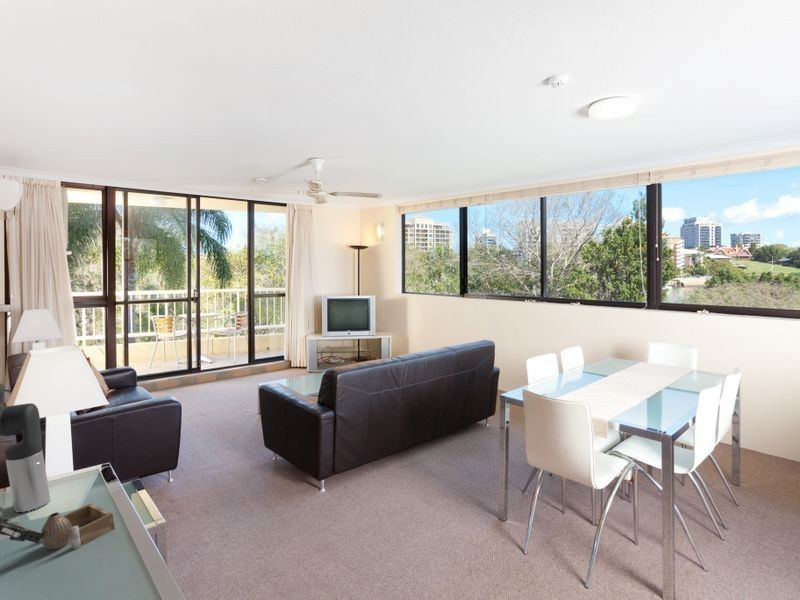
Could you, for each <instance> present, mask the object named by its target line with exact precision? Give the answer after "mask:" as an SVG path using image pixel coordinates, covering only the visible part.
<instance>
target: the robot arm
mask: <svg viewBox="0 0 800 600" xmlns="http://www.w3.org/2000/svg"><path fill="white" fill-rule="evenodd" d="M4 393H5V391H4V388H3V386H2V385H1V384H0V437H11V436H18V435H22V440H21V441H19V442H17V443H14V444H12V445H10V446H9V447H7V448H6V449H5V451H4V457H5V458H4V459H5V464H6V470H7V475H8V482H9V487H10V493H11V500H12V504H13V511H14V510H15V511H17V512H23V513H26V512H25V511H28V512H31V511H30V510H32V511H34V510H33V509H35V510H37V508H38V509H39V507H40V508H42V507H44V506H45V504H46V503H47V502H48V501H49V500H50V501H51V495H50V487H49V483H48V482H49V481H48V477H47V471H46V465H45V464H46V463H45V457H44V452H43V445H42V443H43V442H42V441H43V437H42V431H41V430H42V429H41V420H40V410H39V408H38V406H37V405H36V404H34V403H24V404H16V405H15V404H13V405H7V406H5V405H1V404H2V403H3V399H4V395H5V394H4ZM50 501H49V502H50ZM49 502H48V503H49ZM48 503H47V504H48ZM47 504H46V505H47ZM43 505H44V506H43ZM41 506H42V507H41ZM15 511H14V512H15ZM17 512H16V513H17ZM42 537H43V534H41V531H36V530H33V529H30V528H28V526H24V525H23V524H21V523H20V522H18V521H16V520H12V519H10V518H9V517H6V516H4V509H3V507H1V506H0V538H2V539H3V538H5V539H9V540H10V541H17V542H25V541H28V542H32V543H36V544H38V543H40V542H41V538H42Z"/></svg>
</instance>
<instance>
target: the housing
mask: <svg viewBox="0 0 800 600" xmlns="http://www.w3.org/2000/svg"><path fill="white" fill-rule="evenodd" d="M62 516H63V517H65V518H67V519H68V520H69V521H70V523H71V525H72V527H71V528H70V536H71V538H70V541H71V548H72V550H78V549H80V548H82V546H84V545H85V544H88V543H90V542H92V541H94V540H96V539H97V538H99V537H101V536H103V535H105V534H107V533H109V532H111V531H113V530H114V529H116V528H115V527H116V526H115V520H114V514H113V513H112V512H109V511H108V510H105V509H103V508H101V507H99V506H97V505H95V504H93V503H88V504H86V505H83V506H81V507H79V508H77V509H75V510H73V511H70V512H68V513H66V514H64V515H62ZM90 521H91V522H90ZM87 522H90V523H88V524H85V523H87ZM83 524H84V525H83ZM82 525H83V526H82ZM79 526H81V527H79Z"/></svg>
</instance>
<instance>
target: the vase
mask: <svg viewBox="0 0 800 600" xmlns="http://www.w3.org/2000/svg"><path fill="white" fill-rule="evenodd" d="M63 516H64V515H61V513H60V512H53V513H51V514H49V515H48V516H47V520H46V522H44V524H43V526H42V527H41V530H40V533H41V534H43V537H42V538H41V540H40V542H41V543H42V545H43V546H44V548H46V549H48V550H50V551H51V550H54V551H55V550H58V549H60V548H62V547H65V546H66V545H67V544H68V542H69V541H71V536H70V528H71V527H72V525H71V523H70V521H69V520H68V519H67V518H65V517H63Z"/></svg>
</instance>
